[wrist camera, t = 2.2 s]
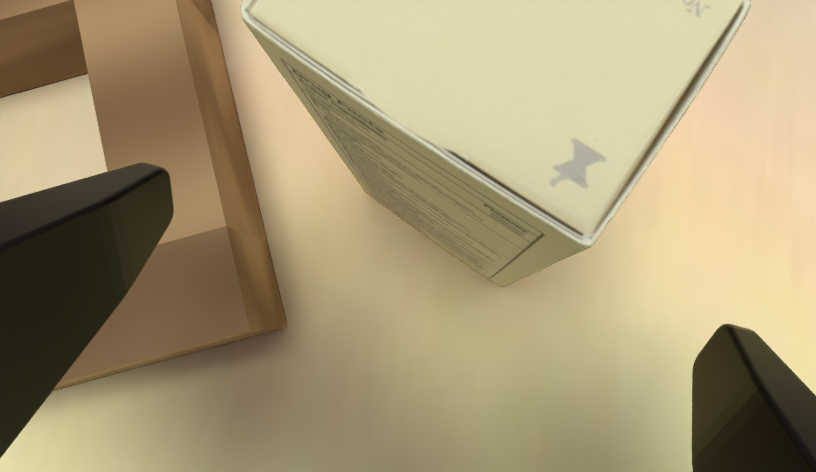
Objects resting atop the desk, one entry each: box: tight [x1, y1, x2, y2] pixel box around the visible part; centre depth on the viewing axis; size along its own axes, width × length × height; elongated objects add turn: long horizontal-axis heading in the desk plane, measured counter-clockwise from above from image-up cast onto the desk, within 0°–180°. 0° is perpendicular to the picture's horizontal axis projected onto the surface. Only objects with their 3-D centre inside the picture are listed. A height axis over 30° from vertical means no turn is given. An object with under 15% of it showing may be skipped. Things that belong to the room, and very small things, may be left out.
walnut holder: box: [0, 0, 287, 391], centre depth 19 cm, size 14×14×4 cm
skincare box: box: [240, 0, 751, 287], centre depth 14 cm, size 6×4×12 cm
